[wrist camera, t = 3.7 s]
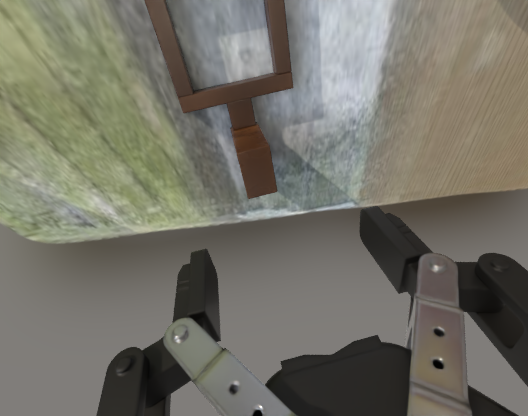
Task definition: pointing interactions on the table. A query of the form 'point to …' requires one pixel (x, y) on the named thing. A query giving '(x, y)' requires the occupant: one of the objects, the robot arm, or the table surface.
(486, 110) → the table surface
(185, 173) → the table surface
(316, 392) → the robot arm
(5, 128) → the table surface
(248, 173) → the brown wooden frame
